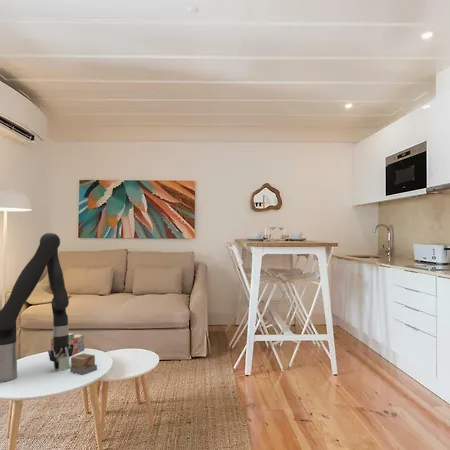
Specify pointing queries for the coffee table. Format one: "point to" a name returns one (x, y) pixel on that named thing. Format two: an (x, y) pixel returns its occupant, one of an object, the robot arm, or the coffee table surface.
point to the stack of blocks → (75, 340)
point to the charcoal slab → (83, 370)
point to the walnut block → (82, 361)
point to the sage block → (63, 363)
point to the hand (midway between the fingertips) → (61, 367)
